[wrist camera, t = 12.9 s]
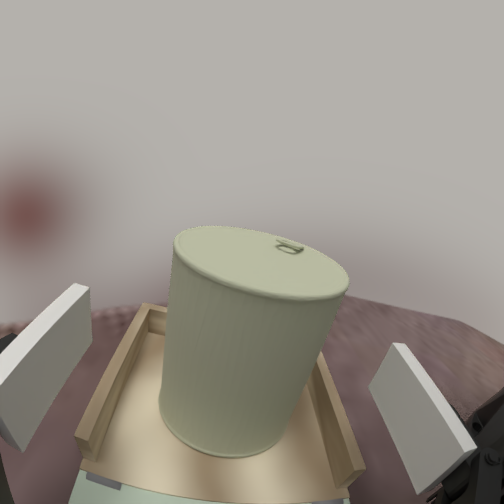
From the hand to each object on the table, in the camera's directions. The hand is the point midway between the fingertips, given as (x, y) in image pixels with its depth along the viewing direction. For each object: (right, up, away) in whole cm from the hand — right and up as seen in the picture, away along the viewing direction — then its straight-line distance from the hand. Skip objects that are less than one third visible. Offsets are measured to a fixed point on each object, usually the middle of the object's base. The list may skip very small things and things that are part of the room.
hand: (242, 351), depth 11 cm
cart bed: (-2, -8, +7) cm, 11 cm away
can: (-2, -7, +7) cm, 10 cm away
